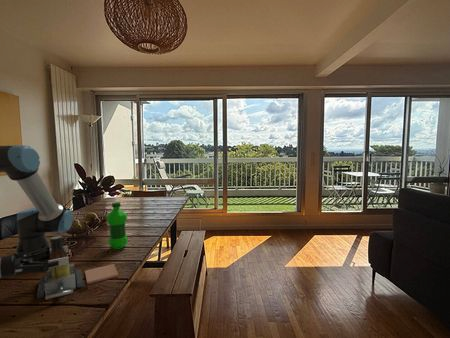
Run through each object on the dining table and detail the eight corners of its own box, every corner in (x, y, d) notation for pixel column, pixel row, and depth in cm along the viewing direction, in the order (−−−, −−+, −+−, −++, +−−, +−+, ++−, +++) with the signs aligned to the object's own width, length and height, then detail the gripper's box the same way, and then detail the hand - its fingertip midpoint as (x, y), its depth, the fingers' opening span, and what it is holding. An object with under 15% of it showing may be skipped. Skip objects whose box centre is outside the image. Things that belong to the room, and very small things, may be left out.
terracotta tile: (85, 272, 117) (84, 270, 117) (113, 265, 124) (113, 263, 123) (87, 284, 107) (87, 282, 107) (118, 276, 113) (118, 274, 113)
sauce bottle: (73, 280, 111) (70, 234, 109) (65, 288, 105) (61, 239, 103) (57, 281, 111) (54, 234, 109) (48, 289, 104) (44, 240, 103)
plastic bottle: (132, 246, 148) (130, 202, 146) (116, 252, 139) (113, 206, 137) (120, 243, 153) (118, 200, 151) (104, 249, 144) (101, 204, 142)
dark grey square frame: (40, 282, 110) (39, 270, 109) (81, 272, 117) (80, 261, 117) (35, 308, 92) (34, 294, 91) (84, 295, 99) (83, 282, 99)
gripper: (8, 264, 108) (68, 252, 119) (-5, 292, 87) (69, 275, 98) (6, 247, 107) (67, 236, 118) (-8, 271, 86) (68, 255, 97)
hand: (68, 254), depth 108 cm, fingers open, 13 cm apart
